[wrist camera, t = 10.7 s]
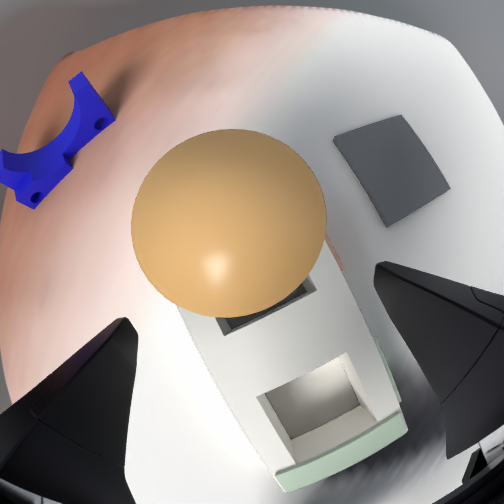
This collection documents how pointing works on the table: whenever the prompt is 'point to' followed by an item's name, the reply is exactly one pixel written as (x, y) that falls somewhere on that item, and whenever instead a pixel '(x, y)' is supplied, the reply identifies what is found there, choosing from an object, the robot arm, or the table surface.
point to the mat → (392, 167)
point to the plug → (228, 223)
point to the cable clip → (56, 147)
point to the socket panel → (297, 364)
